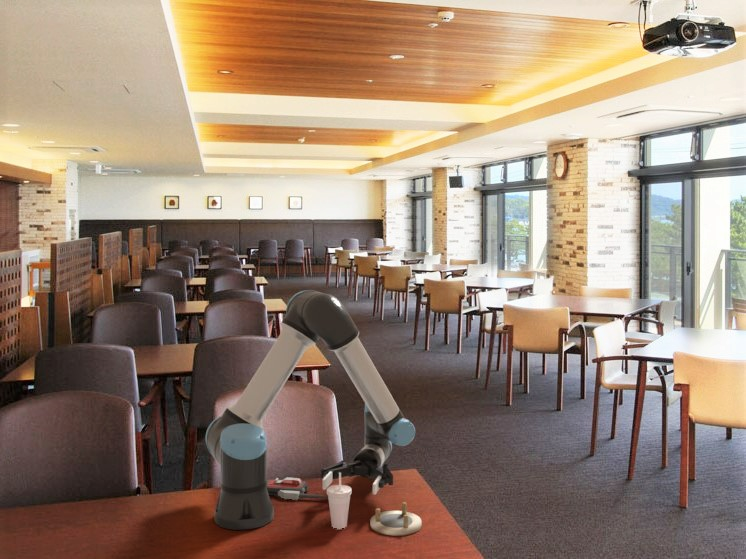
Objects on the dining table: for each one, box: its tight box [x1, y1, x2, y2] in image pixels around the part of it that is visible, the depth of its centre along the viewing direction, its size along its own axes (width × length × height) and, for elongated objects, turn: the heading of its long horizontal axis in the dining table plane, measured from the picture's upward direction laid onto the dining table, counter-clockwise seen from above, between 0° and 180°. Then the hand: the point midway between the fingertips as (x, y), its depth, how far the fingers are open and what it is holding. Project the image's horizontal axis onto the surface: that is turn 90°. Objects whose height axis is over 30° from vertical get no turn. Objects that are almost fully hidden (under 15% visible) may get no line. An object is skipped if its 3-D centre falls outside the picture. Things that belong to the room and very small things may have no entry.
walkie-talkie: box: [267, 476, 328, 501], centre depth 201 cm, size 9×4×20 cm
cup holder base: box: [369, 502, 423, 537], centre depth 181 cm, size 13×13×4 cm
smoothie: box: [326, 472, 353, 530], centre depth 179 cm, size 6×6×14 cm
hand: (348, 487), depth 186 cm, fingers open, 13 cm apart
